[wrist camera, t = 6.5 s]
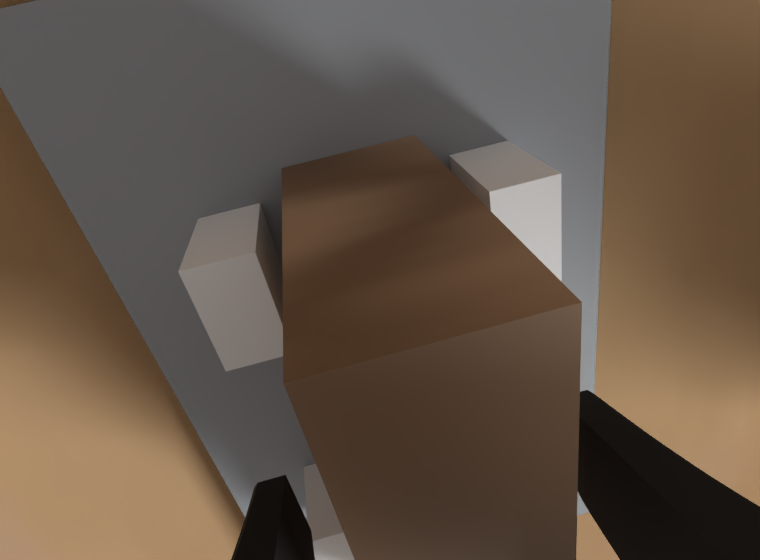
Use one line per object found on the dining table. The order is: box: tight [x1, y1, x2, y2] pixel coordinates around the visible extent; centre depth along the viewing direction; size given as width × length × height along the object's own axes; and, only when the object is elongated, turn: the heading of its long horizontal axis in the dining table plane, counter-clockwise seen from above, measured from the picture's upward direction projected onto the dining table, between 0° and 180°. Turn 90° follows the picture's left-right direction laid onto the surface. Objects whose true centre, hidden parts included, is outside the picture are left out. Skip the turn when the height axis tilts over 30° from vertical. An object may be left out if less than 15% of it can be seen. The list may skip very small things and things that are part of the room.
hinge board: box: [0, 0, 612, 560], centre depth 13 cm, size 12×20×4 cm, turn 10°
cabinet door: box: [282, 135, 582, 560], centre depth 11 cm, size 4×12×7 cm, turn 10°
